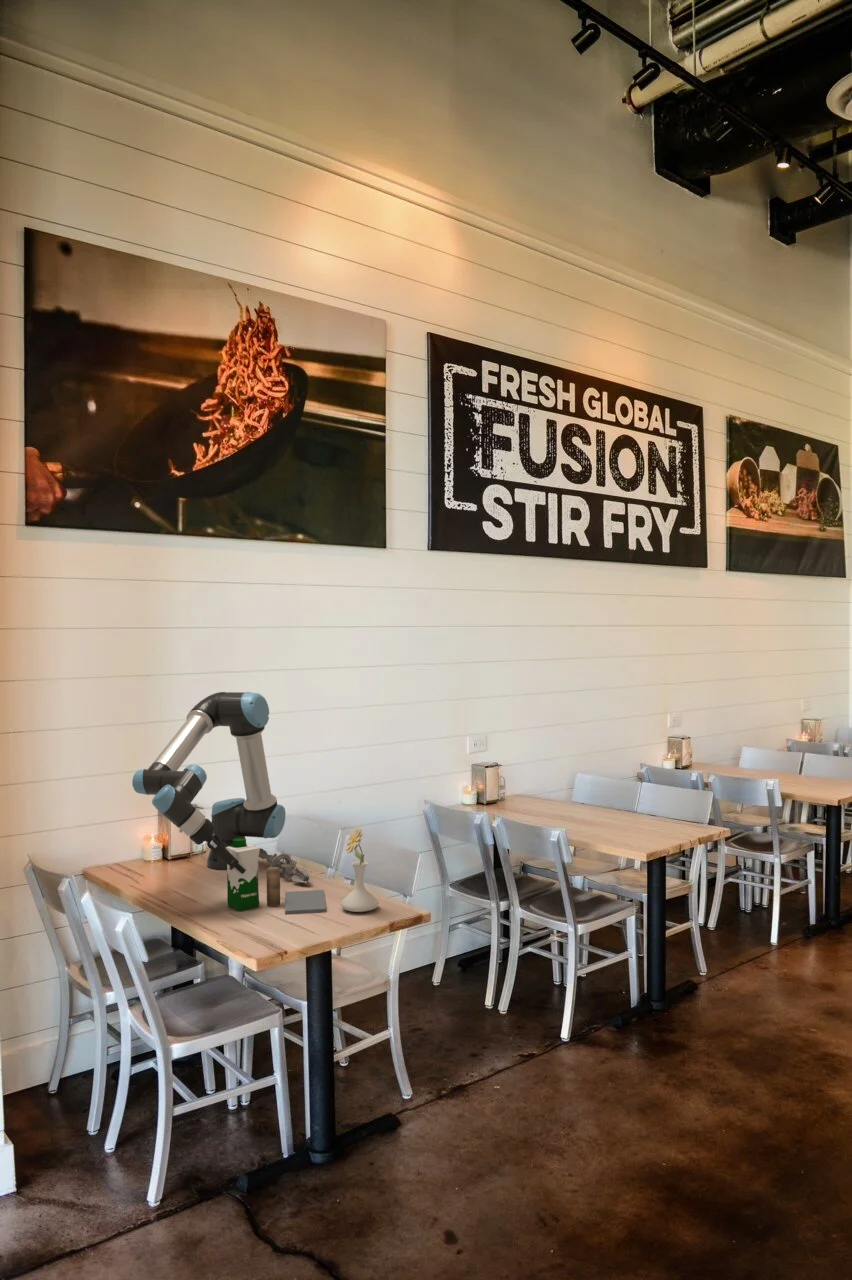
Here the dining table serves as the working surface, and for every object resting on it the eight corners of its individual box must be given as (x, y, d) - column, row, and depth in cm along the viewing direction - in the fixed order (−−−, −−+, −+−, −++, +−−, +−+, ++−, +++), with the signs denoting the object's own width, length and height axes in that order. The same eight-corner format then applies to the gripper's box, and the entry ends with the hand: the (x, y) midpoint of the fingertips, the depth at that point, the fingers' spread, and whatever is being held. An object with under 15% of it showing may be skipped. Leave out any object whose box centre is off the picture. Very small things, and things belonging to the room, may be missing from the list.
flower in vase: (341, 904, 274) (340, 822, 274) (378, 903, 275) (378, 821, 275) (340, 917, 261) (339, 831, 261) (379, 916, 262) (378, 830, 262)
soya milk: (249, 900, 279) (248, 835, 279) (263, 907, 272) (263, 840, 272) (223, 905, 273) (222, 840, 273) (237, 912, 266) (236, 845, 266)
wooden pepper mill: (267, 903, 275) (266, 867, 275) (280, 902, 276) (279, 866, 276) (266, 907, 272) (266, 870, 272) (280, 906, 272) (279, 870, 272)
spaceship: (268, 842, 323) (251, 837, 318) (322, 871, 296) (303, 866, 291) (260, 863, 321) (242, 858, 316) (313, 895, 295) (294, 890, 290)
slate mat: (285, 894, 284) (285, 891, 284) (323, 892, 286) (323, 889, 286) (285, 914, 264) (285, 910, 264) (326, 912, 266) (326, 908, 266)
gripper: (185, 828, 279) (235, 872, 284) (191, 846, 255) (245, 893, 260) (202, 810, 281) (251, 854, 285) (210, 825, 257) (263, 873, 262)
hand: (248, 873), depth 273 cm, fingers open, 13 cm apart
